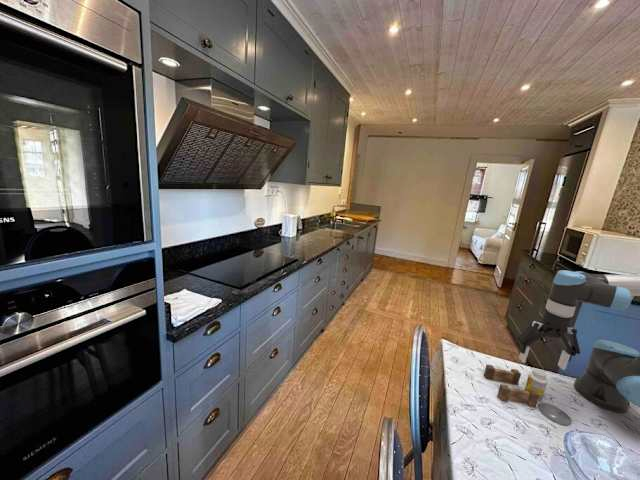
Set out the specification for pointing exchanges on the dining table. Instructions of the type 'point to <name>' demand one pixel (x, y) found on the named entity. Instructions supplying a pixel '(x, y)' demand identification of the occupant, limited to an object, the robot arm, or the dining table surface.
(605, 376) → the robot arm
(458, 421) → the dining table surface
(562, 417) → the slate coaster
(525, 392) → the walnut channel
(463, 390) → the dining table surface
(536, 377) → the supplement bottle
